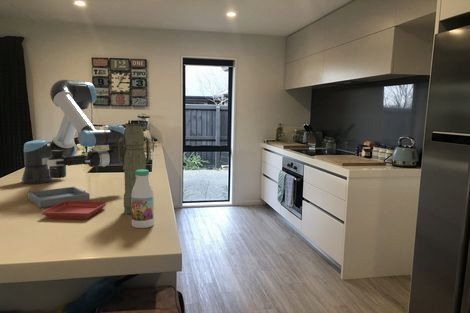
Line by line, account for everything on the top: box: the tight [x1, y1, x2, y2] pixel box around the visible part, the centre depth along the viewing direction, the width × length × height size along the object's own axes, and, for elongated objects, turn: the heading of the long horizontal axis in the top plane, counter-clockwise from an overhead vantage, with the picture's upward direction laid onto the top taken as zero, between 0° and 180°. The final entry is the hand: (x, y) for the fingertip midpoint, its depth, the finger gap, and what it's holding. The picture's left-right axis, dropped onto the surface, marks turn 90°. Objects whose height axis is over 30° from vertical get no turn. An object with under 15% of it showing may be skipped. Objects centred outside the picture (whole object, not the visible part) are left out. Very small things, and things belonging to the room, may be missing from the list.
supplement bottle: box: [48, 150, 67, 179], centre depth 158 cm, size 7×7×12 cm
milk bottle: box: [131, 169, 155, 229], centre depth 125 cm, size 8×8×20 cm
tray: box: [27, 186, 91, 210], centre depth 159 cm, size 20×20×4 cm
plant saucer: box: [41, 201, 108, 220], centre depth 140 cm, size 18×18×3 cm
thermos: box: [118, 124, 151, 216], centre depth 142 cm, size 9×12×35 cm
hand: (45, 162), depth 154 cm, fingers closed on supplement bottle, 7 cm apart
